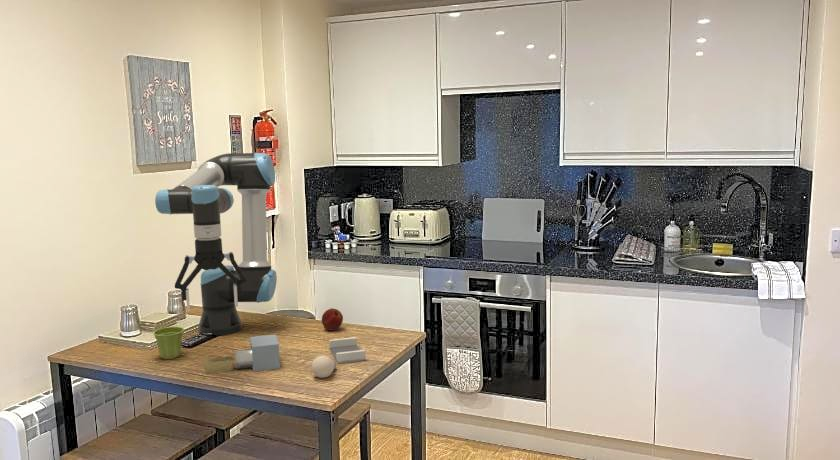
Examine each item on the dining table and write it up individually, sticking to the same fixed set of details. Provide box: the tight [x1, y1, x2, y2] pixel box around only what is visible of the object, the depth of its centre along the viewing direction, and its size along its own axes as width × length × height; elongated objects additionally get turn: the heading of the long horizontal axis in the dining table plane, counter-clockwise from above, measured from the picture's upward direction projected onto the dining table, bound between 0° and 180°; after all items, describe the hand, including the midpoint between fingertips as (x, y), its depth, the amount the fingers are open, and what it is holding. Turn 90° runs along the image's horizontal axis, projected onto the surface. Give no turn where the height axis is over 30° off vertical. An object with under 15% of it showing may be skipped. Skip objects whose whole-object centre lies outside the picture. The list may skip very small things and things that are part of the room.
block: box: [249, 334, 281, 372], centre depth 204 cm, size 10×8×8 cm
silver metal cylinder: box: [234, 348, 253, 370], centre depth 203 cm, size 12×6×6 cm, turn 107°
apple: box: [321, 307, 344, 331], centre depth 238 cm, size 7×8×8 cm
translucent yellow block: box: [203, 355, 233, 374], centre depth 200 cm, size 4×8×4 cm, turn 105°
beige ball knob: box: [311, 355, 338, 379], centre depth 196 cm, size 7×7×11 cm
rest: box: [328, 336, 366, 365], centre depth 212 cm, size 14×9×3 cm, turn 18°
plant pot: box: [152, 326, 185, 360], centre depth 212 cm, size 9×9×9 cm
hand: (212, 308), depth 194 cm, fingers open, 13 cm apart
